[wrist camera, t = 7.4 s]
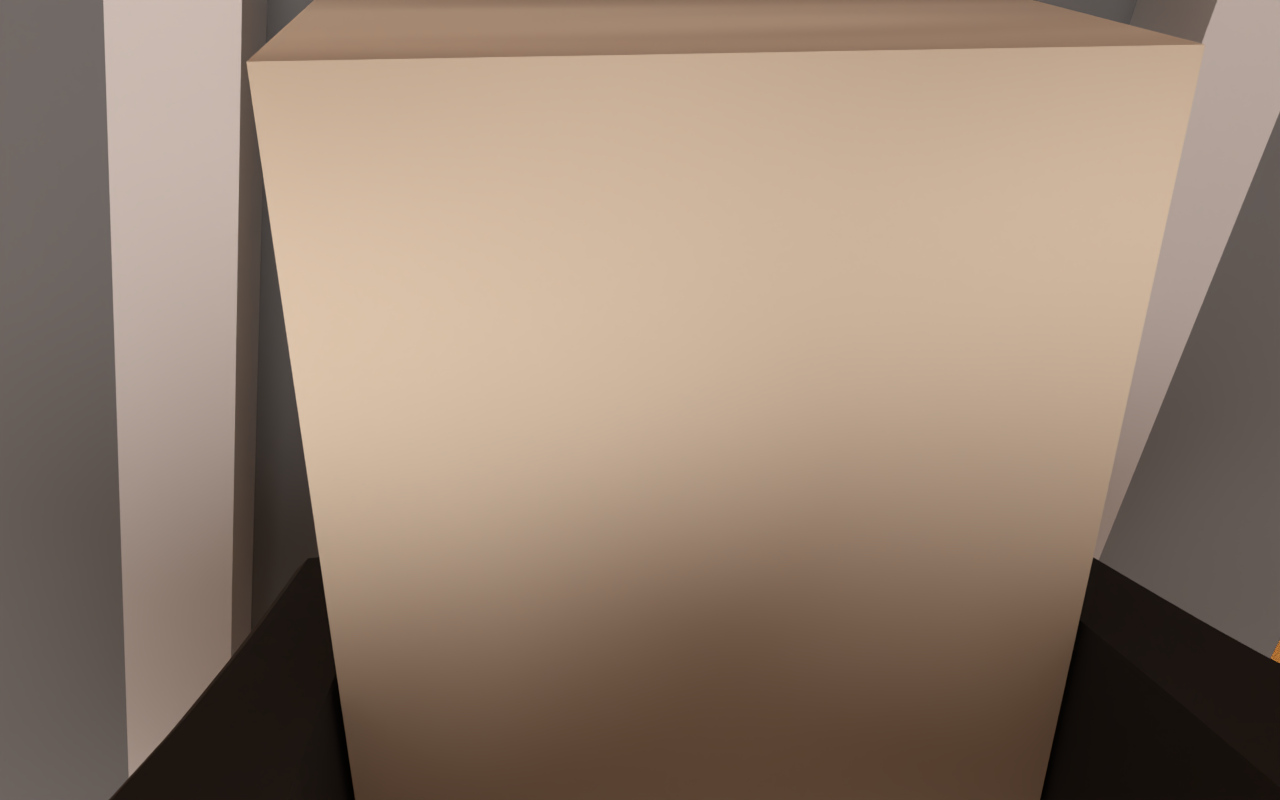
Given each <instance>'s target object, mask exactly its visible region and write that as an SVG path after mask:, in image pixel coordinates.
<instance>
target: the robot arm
mask: <svg viewBox="0 0 1280 800" xmlns="http://www.w3.org/2000/svg"><path fill="white" fill-rule="evenodd" d="M109 800H355V796H354V789H353V782H352V775H351V768H350V762H349V755H348V748H347V741H346V735H345V728H344V721H343V714H342V707H341V701H340V694H339V687H338V680H337V673H336V667H335V660H334V653H333V646H332V640H331V633H330V626H329V619H328V612H327V606H326V599H325V592H324V585H323V578H322V572H321V565H320V558H319V557H316V558H308V559H307V560H306V561H305V562H304V563H303V564H302V565H301V566H300V567H299V568H298V569H297V570H296V571H295V573H294V574H293V575H292V577H291V578H290V579H289V581H288V582H287V583H286V585H285V586H284V588H283V589H282V590H281V592H280V593H279V594H278V596H277V597H276V599H275V600H274V601H273V603H272V604H271V605H270V607H269V608H268V610H267V611H266V612H265V614H264V615H263V616H262V618H261V619H260V620H259V622H258V623H257V624H256V626H255V627H254V628H253V630H252V631H251V632H250V634H249V635H248V636H247V638H246V639H245V640H244V641H243V643H242V644H241V645H240V647H239V648H238V649H237V651H236V652H235V653H234V654H233V656H232V657H231V658H230V660H229V661H228V662H227V663H226V665H225V666H224V667H223V668H222V670H221V671H220V672H219V673H218V674H217V676H216V677H215V678H214V679H213V681H212V682H211V683H210V684H209V686H208V687H207V688H206V689H205V690H204V692H203V693H202V694H201V695H200V697H199V698H198V699H197V700H196V701H195V703H194V704H193V705H192V706H191V708H190V709H189V710H188V711H187V713H186V714H185V715H184V716H183V717H182V719H181V720H180V721H179V722H178V723H177V725H176V726H175V727H174V728H173V729H172V730H171V732H170V733H169V734H168V735H167V736H166V737H165V739H164V740H163V741H162V742H161V743H160V744H159V745H158V746H157V747H156V748H155V750H154V751H153V752H152V753H151V754H150V755H149V756H148V757H147V758H146V759H145V761H144V762H143V763H142V764H141V765H140V766H139V767H138V768H137V769H136V770H135V772H134V773H133V774H132V775H131V776H130V777H129V778H128V779H127V780H126V781H125V783H124V784H123V785H122V786H121V787H120V788H119V789H118V790H117V791H116V792H115V794H114V795H113V796H112V797H111V798H110V799H109ZM1040 800H1280V663H1278V662H1276V661H1274V660H1272V659H1270V658H1268V657H1266V656H1264V655H1263V654H1261V653H1259V652H1257V651H1255V650H1253V649H1252V648H1250V647H1248V646H1246V645H1244V644H1243V643H1241V642H1239V641H1237V640H1235V639H1233V638H1232V637H1230V636H1228V635H1226V634H1224V633H1223V632H1221V631H1219V630H1217V629H1216V628H1214V627H1212V626H1210V625H1209V624H1207V623H1205V622H1203V621H1201V620H1200V619H1198V618H1196V617H1194V616H1193V615H1191V614H1189V613H1188V612H1186V611H1184V610H1182V609H1181V608H1179V607H1177V606H1175V605H1174V604H1172V603H1170V602H1169V601H1167V600H1165V599H1163V598H1162V597H1160V596H1158V595H1157V594H1155V593H1153V592H1151V591H1150V590H1148V589H1146V588H1145V587H1143V586H1141V585H1140V584H1138V583H1136V582H1134V581H1133V580H1131V579H1129V578H1128V577H1126V576H1124V575H1123V574H1121V573H1119V572H1118V571H1116V570H1114V569H1112V568H1111V567H1109V566H1107V565H1106V564H1104V563H1102V562H1101V561H1099V560H1097V559H1096V558H1094V557H1093V560H1092V565H1091V569H1090V574H1089V578H1088V583H1087V587H1086V592H1085V597H1084V601H1083V606H1082V610H1081V615H1080V619H1079V624H1078V629H1077V633H1076V638H1075V642H1074V647H1073V651H1072V656H1071V661H1070V665H1069V670H1068V674H1067V679H1066V683H1065V688H1064V693H1063V697H1062V702H1061V706H1060V711H1059V715H1058V720H1057V725H1056V729H1055V734H1054V738H1053V743H1052V747H1051V752H1050V757H1049V761H1048V766H1047V770H1046V775H1045V779H1044V784H1043V789H1042V793H1041V798H1040Z"/></svg>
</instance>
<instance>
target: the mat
mask: <svg viewBox="0 0 1280 800" xmlns="http://www.w3.org/2000/svg"><path fill="white" fill-rule="evenodd" d="M313 1H314V0H0V800H109V799H110V798H111V797H112V796H113V795H114V794H115V792H116V791H117V790H118V789H119V788H120V787H121V786H122V785H123V784H124V783H125V781H126V780H127V779H128V778H129V777H130V776H131V775H132V774H133V773H134V772H135V770H136V769H137V768H138V767H139V766H140V765H141V764H142V763H143V762H144V761H145V759H146V758H147V757H148V756H149V755H150V754H151V753H152V752H153V751H154V750H155V748H156V747H157V746H158V745H159V744H160V743H161V742H162V741H163V740H164V739H165V737H166V736H167V735H168V734H169V733H170V732H171V730H172V729H173V728H174V727H175V726H176V725H177V723H178V722H179V721H180V720H181V719H182V717H183V716H184V715H185V714H186V713H187V711H188V710H189V709H190V708H191V706H192V705H193V704H194V703H195V701H196V700H197V699H198V698H199V697H200V695H201V694H202V693H203V692H204V690H205V689H206V688H207V687H208V686H209V684H210V683H211V682H212V681H213V679H214V678H215V677H216V676H217V674H218V673H219V672H220V671H221V670H222V668H223V667H224V666H225V665H226V663H227V662H228V661H229V660H230V658H231V657H232V656H233V654H234V653H235V652H236V651H237V649H238V648H239V647H240V645H241V644H242V643H243V641H244V640H245V639H246V638H247V636H248V635H249V634H250V632H251V631H252V630H253V628H254V627H255V626H256V624H257V623H258V622H259V620H260V619H261V618H262V616H263V615H264V614H265V612H266V611H267V610H268V608H269V607H270V605H271V604H272V603H273V601H274V600H275V599H276V597H277V596H278V594H279V593H280V592H281V590H282V589H283V588H284V586H285V585H286V583H287V582H288V581H289V579H290V578H291V577H292V575H293V574H294V573H295V571H296V570H297V569H298V568H299V567H300V566H301V565H302V564H303V563H304V562H305V561H306V560H307V559H308V558H316V557H319V551H318V545H317V538H316V531H315V524H314V517H313V511H312V504H311V497H310V490H309V484H308V477H307V470H306V463H305V456H304V450H303V443H302V436H301V429H300V422H299V416H298V409H297V402H296V395H295V389H294V382H293V375H292V368H291V361H290V355H289V348H288V341H287V334H286V328H285V321H284V314H283V307H282V300H281V294H280V287H279V280H278V273H277V266H276V260H275V253H274V246H273V239H272V233H271V226H270V219H269V212H268V205H267V199H266V192H265V185H264V178H263V171H262V165H261V158H260V151H259V144H258V138H257V131H256V124H255V117H254V110H253V104H252V97H251V90H250V83H249V76H248V70H247V63H246V62H247V61H248V60H249V59H250V58H251V57H252V56H253V55H254V54H255V53H256V52H258V51H259V50H260V49H261V48H262V47H263V46H264V45H265V44H266V43H267V42H269V41H270V40H271V39H272V38H273V37H274V36H275V35H276V34H277V33H278V32H280V31H281V30H282V29H283V28H284V27H285V26H286V25H287V24H288V23H289V22H291V21H292V20H293V19H294V18H295V17H296V16H297V15H298V14H299V13H300V12H302V11H303V10H304V9H305V8H306V7H307V6H308V5H309V4H310V3H311V2H313ZM1034 1H1038V2H1042V3H1046V4H1050V5H1054V6H1058V7H1062V8H1065V9H1069V10H1073V11H1077V12H1081V13H1085V14H1089V15H1093V16H1096V17H1100V18H1104V19H1108V20H1112V21H1116V22H1120V23H1124V24H1128V25H1131V26H1135V27H1139V28H1143V29H1147V30H1151V31H1155V32H1159V33H1162V34H1166V35H1170V36H1174V37H1178V38H1182V39H1186V40H1190V41H1194V42H1197V43H1201V44H1205V48H1204V53H1203V57H1202V62H1201V66H1200V71H1199V76H1198V80H1197V85H1196V89H1195V94H1194V98H1193V103H1192V108H1191V112H1190V117H1189V121H1188V126H1187V130H1186V135H1185V140H1184V144H1183V149H1182V153H1181V158H1180V162H1179V167H1178V172H1177V176H1176V181H1175V185H1174V190H1173V194H1172V199H1171V204H1170V208H1169V213H1168V217H1167V222H1166V226H1165V231H1164V236H1163V240H1162V245H1161V249H1160V254H1159V258H1158V263H1157V268H1156V272H1155V277H1154V281H1153V286H1152V290H1151V295H1150V300H1149V304H1148V309H1147V313H1146V318H1145V322H1144V327H1143V332H1142V336H1141V341H1140V345H1139V350H1138V354H1137V359H1136V364H1135V368H1134V373H1133V377H1132V382H1131V386H1130V391H1129V395H1128V400H1127V405H1126V409H1125V414H1124V418H1123V423H1122V427H1121V432H1120V437H1119V441H1118V446H1117V450H1116V455H1115V459H1114V464H1113V469H1112V473H1111V478H1110V482H1109V487H1108V491H1107V496H1106V501H1105V505H1104V510H1103V514H1102V519H1101V523H1100V528H1099V533H1098V537H1097V542H1096V546H1095V551H1094V555H1093V557H1094V558H1096V559H1097V560H1099V561H1101V562H1102V563H1104V564H1106V565H1107V566H1109V567H1111V568H1112V569H1114V570H1116V571H1118V572H1119V573H1121V574H1123V575H1124V576H1126V577H1128V578H1129V579H1131V580H1133V581H1134V582H1136V583H1138V584H1140V585H1141V586H1143V587H1145V588H1146V589H1148V590H1150V591H1151V592H1153V593H1155V594H1157V595H1158V596H1160V597H1162V598H1163V599H1165V600H1167V601H1169V602H1170V603H1172V604H1174V605H1175V606H1177V607H1179V608H1181V609H1182V610H1184V611H1186V612H1188V613H1189V614H1191V615H1193V616H1194V617H1196V618H1198V619H1200V620H1201V621H1203V622H1205V623H1207V624H1209V625H1210V626H1212V627H1214V628H1216V629H1217V630H1219V631H1221V632H1223V633H1224V634H1226V635H1228V636H1230V637H1232V638H1233V639H1235V640H1237V641H1239V642H1241V643H1243V644H1244V645H1246V646H1248V647H1250V648H1252V649H1253V650H1255V651H1257V652H1259V653H1261V654H1263V655H1264V656H1266V657H1268V658H1271V656H1272V654H1273V652H1274V650H1275V648H1276V646H1277V644H1278V642H1279V640H1280V0H1034Z"/></svg>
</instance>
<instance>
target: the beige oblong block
mask: <svg viewBox="0 0 1280 800" xmlns="http://www.w3.org/2000/svg"><path fill="white" fill-rule="evenodd" d="M1204 48H1205V44H1201V43H1197V42H1194V41H1190V40H1186V39H1182V38H1178V37H1174V36H1170V35H1166V34H1162V33H1159V32H1155V31H1151V30H1147V29H1143V28H1139V27H1135V26H1131V25H1128V24H1124V23H1120V22H1116V21H1112V20H1108V19H1104V18H1100V17H1096V16H1093V15H1089V14H1085V13H1081V12H1077V11H1073V10H1069V9H1065V8H1062V7H1058V6H1054V5H1050V4H1046V3H1042V2H1038V1H1034V0H314V1H313V2H311V3H310V4H309V5H308V6H307V7H306V8H305V9H304V10H303V11H302V12H300V13H299V14H298V15H297V16H296V17H295V18H294V19H293V20H292V21H291V22H289V23H288V24H287V25H286V26H285V27H284V28H283V29H282V30H281V31H280V32H278V33H277V34H276V35H275V36H274V37H273V38H272V39H271V40H270V41H269V42H267V43H266V44H265V45H264V46H263V47H262V48H261V49H260V50H259V51H258V52H256V53H255V54H254V55H253V56H252V57H251V58H250V59H249V60H248V61H247V62H246V63H247V70H248V76H249V83H250V90H251V97H252V104H253V110H254V117H255V124H256V131H257V138H258V144H259V151H260V158H261V165H262V171H263V178H264V185H265V192H266V199H267V205H268V212H269V219H270V226H271V233H272V239H273V246H274V253H275V260H276V266H277V273H278V280H279V287H280V294H281V300H282V307H283V314H284V321H285V328H286V334H287V341H288V348H289V355H290V361H291V368H292V375H293V382H294V389H295V395H296V402H297V409H298V416H299V422H300V429H301V436H302V443H303V450H304V456H305V463H306V470H307V477H308V484H309V490H310V497H311V504H312V511H313V517H314V524H315V531H316V538H317V545H318V551H319V558H320V565H321V572H322V578H323V585H324V592H325V599H326V606H327V612H328V619H329V626H330V633H331V640H332V646H333V653H334V660H335V667H336V673H337V680H338V687H339V694H340V701H341V707H342V714H343V721H344V728H345V735H346V741H347V748H348V755H349V762H350V768H351V775H352V782H353V789H354V796H355V800H1040V798H1041V793H1042V789H1043V784H1044V779H1045V775H1046V770H1047V766H1048V761H1049V757H1050V752H1051V747H1052V743H1053V738H1054V734H1055V729H1056V725H1057V720H1058V715H1059V711H1060V706H1061V702H1062V697H1063V693H1064V688H1065V683H1066V679H1067V674H1068V670H1069V665H1070V661H1071V656H1072V651H1073V647H1074V642H1075V638H1076V633H1077V629H1078V624H1079V619H1080V615H1081V610H1082V606H1083V601H1084V597H1085V592H1086V587H1087V583H1088V578H1089V574H1090V569H1091V565H1092V560H1093V555H1094V551H1095V546H1096V542H1097V537H1098V533H1099V528H1100V523H1101V519H1102V514H1103V510H1104V505H1105V501H1106V496H1107V491H1108V487H1109V482H1110V478H1111V473H1112V469H1113V464H1114V459H1115V455H1116V450H1117V446H1118V441H1119V437H1120V432H1121V427H1122V423H1123V418H1124V414H1125V409H1126V405H1127V400H1128V395H1129V391H1130V386H1131V382H1132V377H1133V373H1134V368H1135V364H1136V359H1137V354H1138V350H1139V345H1140V341H1141V336H1142V332H1143V327H1144V322H1145V318H1146V313H1147V309H1148V304H1149V300H1150V295H1151V290H1152V286H1153V281H1154V277H1155V272H1156V268H1157V263H1158V258H1159V254H1160V249H1161V245H1162V240H1163V236H1164V231H1165V226H1166V222H1167V217H1168V213H1169V208H1170V204H1171V199H1172V194H1173V190H1174V185H1175V181H1176V176H1177V172H1178V167H1179V162H1180V158H1181V153H1182V149H1183V144H1184V140H1185V135H1186V130H1187V126H1188V121H1189V117H1190V112H1191V108H1192V103H1193V98H1194V94H1195V89H1196V85H1197V80H1198V76H1199V71H1200V66H1201V62H1202V57H1203V53H1204Z"/></svg>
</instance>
